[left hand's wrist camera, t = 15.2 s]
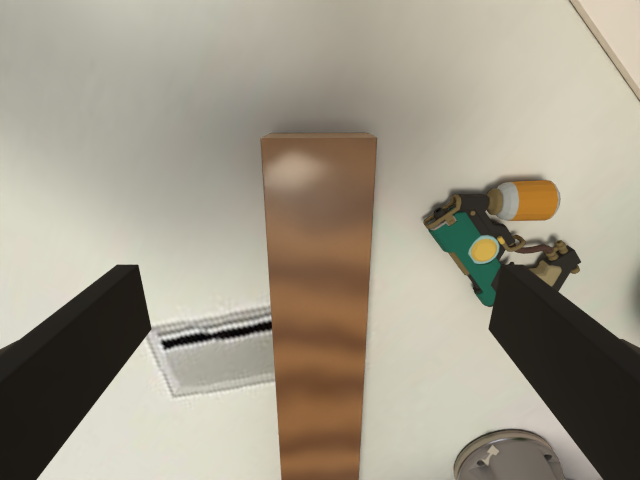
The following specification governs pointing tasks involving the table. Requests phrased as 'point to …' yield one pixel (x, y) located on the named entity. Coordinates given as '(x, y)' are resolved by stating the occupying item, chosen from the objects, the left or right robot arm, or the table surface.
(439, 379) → the table surface
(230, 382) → the table surface
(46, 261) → the table surface
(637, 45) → the tablet stand
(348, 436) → the slab
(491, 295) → the spray gun
